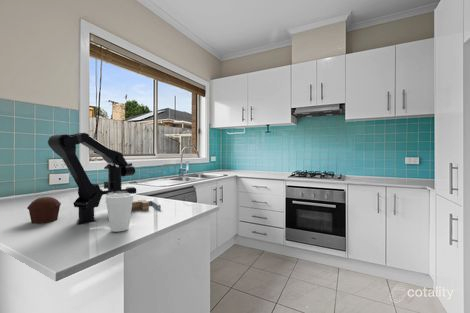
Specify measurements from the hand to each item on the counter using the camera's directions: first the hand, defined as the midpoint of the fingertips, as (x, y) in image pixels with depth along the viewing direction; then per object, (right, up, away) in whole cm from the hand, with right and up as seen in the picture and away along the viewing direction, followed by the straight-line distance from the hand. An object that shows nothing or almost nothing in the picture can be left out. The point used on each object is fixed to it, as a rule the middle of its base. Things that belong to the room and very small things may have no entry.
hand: (115, 209), depth 110 cm
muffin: (-24, -2, -13) cm, 27 cm away
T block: (+9, -2, +6) cm, 11 cm away
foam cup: (+15, -2, -24) cm, 28 cm away
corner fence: (+12, -2, +8) cm, 15 cm away
